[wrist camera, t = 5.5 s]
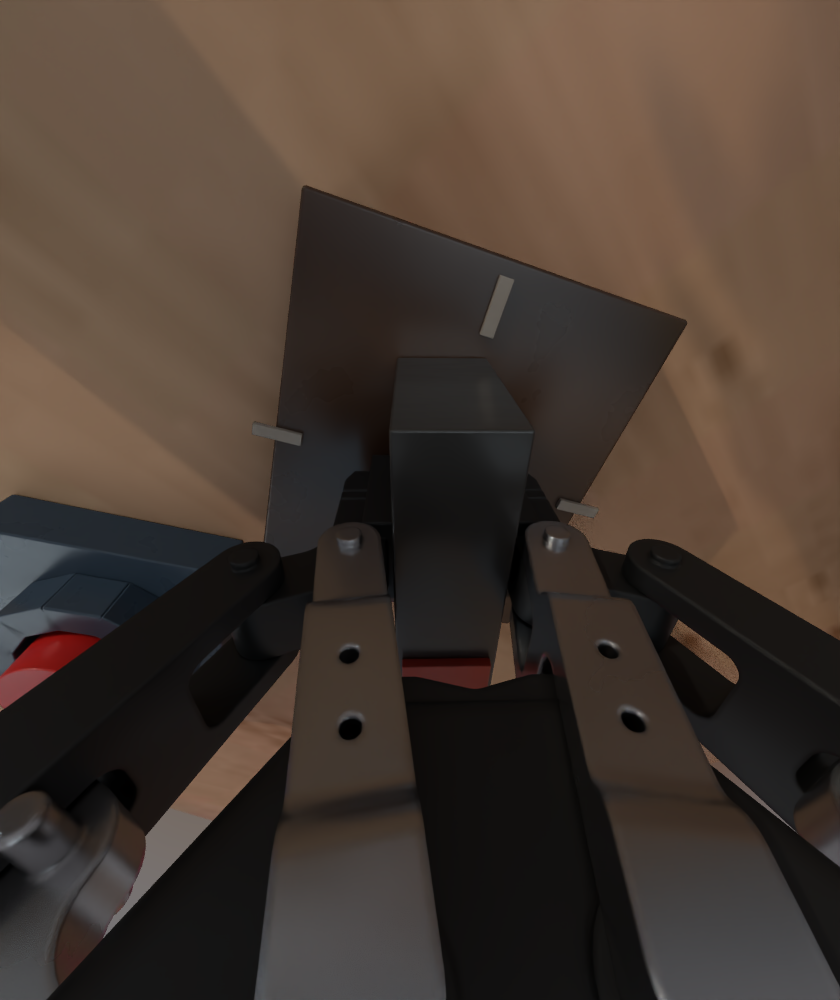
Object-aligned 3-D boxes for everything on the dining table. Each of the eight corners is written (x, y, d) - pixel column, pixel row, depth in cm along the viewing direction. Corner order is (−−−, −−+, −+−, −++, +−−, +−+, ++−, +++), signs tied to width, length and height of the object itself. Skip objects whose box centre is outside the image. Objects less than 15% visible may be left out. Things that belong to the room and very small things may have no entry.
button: (20, 619, 15) (-23, 661, 13) (147, 639, 16) (119, 680, 14) (43, 687, 17) (8, 729, 16) (153, 702, 18) (130, 743, 16)
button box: (12, 493, 16) (-93, 558, 13) (244, 539, 18) (204, 609, 14) (57, 648, 21) (-10, 725, 18) (234, 674, 23) (203, 749, 19)
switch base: (304, 189, 11) (271, 172, 8) (651, 312, 13) (713, 329, 10) (266, 526, 17) (241, 578, 15) (507, 576, 19) (523, 630, 16)
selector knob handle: (396, 357, 11) (387, 436, 6) (486, 358, 11) (540, 437, 6) (400, 558, 14) (396, 696, 10) (467, 558, 14) (492, 695, 10)
